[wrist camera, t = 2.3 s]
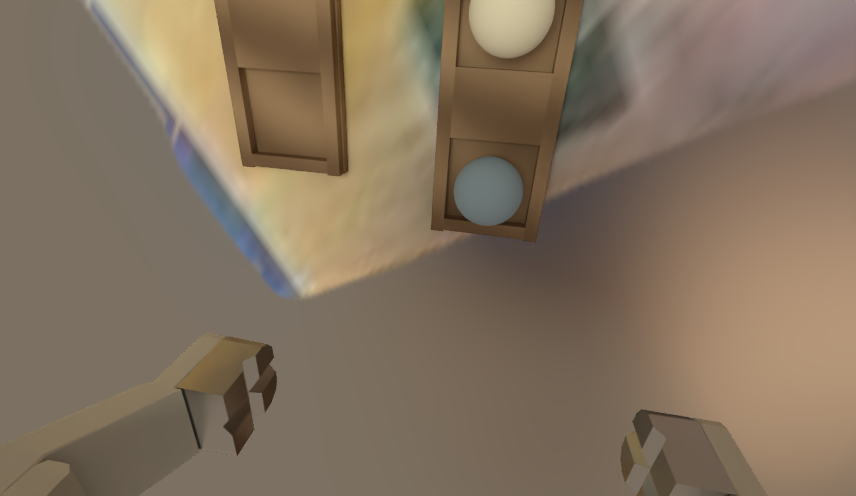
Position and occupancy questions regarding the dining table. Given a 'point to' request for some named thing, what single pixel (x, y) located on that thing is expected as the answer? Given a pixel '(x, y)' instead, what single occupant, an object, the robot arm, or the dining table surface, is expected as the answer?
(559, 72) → the rack
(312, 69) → the tray
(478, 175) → the ball blue
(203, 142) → the dining table surface
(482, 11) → the ivory ball
